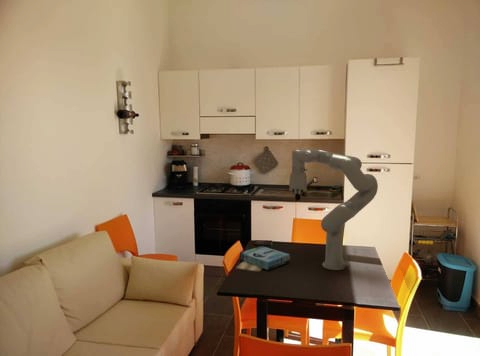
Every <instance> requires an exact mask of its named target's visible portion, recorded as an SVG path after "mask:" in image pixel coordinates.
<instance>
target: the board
mask: <svg viewBox="0 0 480 356" xmlns="http://www.w3.org/2000/svg"><path fill="white" fill-rule="evenodd" d="M235 269H236V270H244V271H249V272H255V273H256V272H257V273H260V272H261V271H262V270H263V269H264V268H261V267H258V266H256V265H253V264H250V263H248V262H245V261H242V262H241V263H239V264H238V265H237V266H236V267H235Z"/></svg>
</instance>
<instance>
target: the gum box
mask: <svg viewBox="0 0 480 356" xmlns="http://www.w3.org/2000/svg"><path fill="white" fill-rule="evenodd" d="M239 260H240V261H242V262H243V261H245V262H248V263H250V264H253V265H256V266H258V267H261V268H263V269H265V270H267V271H270V270H272V269H275V268H277V267H280V266H283V265H286V264H288V263H290V261H291V255H290V253H286V252H283V251H279V250H278V249H277V250H276V249H274V248H273V249H272V248H269V247H266V246H263V245H259V246H257V247H254V248H250V249H247V250H244V251H240V252H239Z"/></svg>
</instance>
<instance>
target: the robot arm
mask: <svg viewBox="0 0 480 356" xmlns="http://www.w3.org/2000/svg"><path fill="white" fill-rule="evenodd" d="M305 163H320V164H324V165H327V166H328V167H330V169H333V170H340V171H342V173H343V174H344V176H345V178H347V180H348V181H349V183H350V184H351V186H352V187H353V189H355V190H356V191H357V192H356V193H355V194H353V195H352V196H351V197H350V198H348V200H346V201H344V202H342V203H339V204H337V206H335V207H334V208H333V209H331V210H330V212H328V213H327V214H326V215H325V216H323V218H322V220H321V223H320V226H321V229H322V230H323V231H324V232H325V233H326V237H325V257H324V259H325V261H323V262H322V264H321V265H322V267H323V268H324V269H327V270H331V271H341V270H344V269H345V268H346V267H351V262H349V261H347V260H346V261H345V260H344V258H343V253H344V252H343V251H344V250H343V247H344V246H343V245H344V233H345V228H346V223H347V222H348V221H349V220H351V219H353V218H354V217H355V216H356V215H357V214H359V212H361V211H362V210H363V209H364V208H365V207H366V206H367V205H368V204H370V203H371V202H372V201H373V200H374V198H375V197H376V195H377V193H378V190H379V185H378V184H379V183H378V180H377V178H376V177H375V176H374V175H373V174H369V173H364V172H363V170H361V169H362V160H361V159H360V158H358V157H355V156H352V155H346V154H341V153H336V152H331V151H327V150H326V151H325V150H321V149H315V148H313V149H293V150H292V152H291V172H290V174H289V184H288V187H289V189H288V191H290V192H293V193H294V194H295V196H294V199H295V201H297V202H299V201H301V194H303V192H307V191H308V189H307V187H308V180H307V178H308V177H307V172H306V171H308V168H306V167H305V165H306V164H305Z"/></svg>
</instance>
